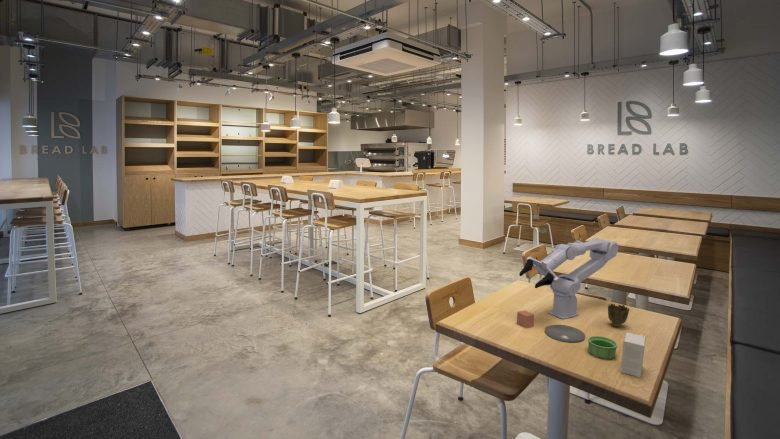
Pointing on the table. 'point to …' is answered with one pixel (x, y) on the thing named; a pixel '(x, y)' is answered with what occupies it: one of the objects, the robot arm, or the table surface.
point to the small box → (633, 354)
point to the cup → (617, 314)
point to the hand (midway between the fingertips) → (527, 280)
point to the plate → (565, 333)
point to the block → (525, 319)
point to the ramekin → (602, 347)
